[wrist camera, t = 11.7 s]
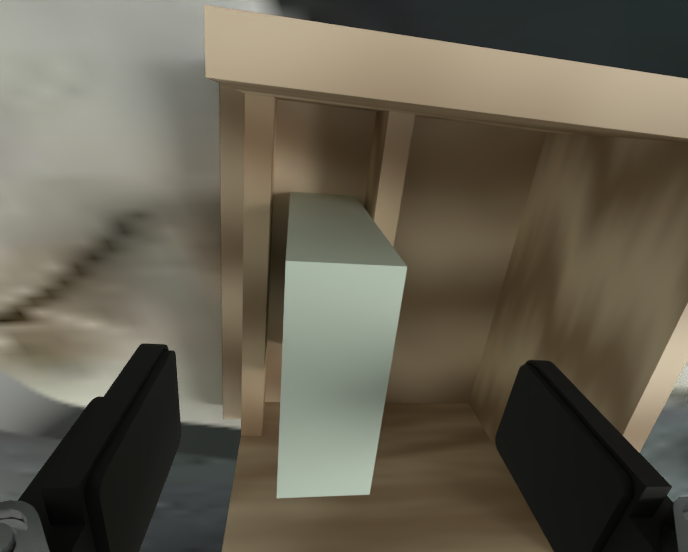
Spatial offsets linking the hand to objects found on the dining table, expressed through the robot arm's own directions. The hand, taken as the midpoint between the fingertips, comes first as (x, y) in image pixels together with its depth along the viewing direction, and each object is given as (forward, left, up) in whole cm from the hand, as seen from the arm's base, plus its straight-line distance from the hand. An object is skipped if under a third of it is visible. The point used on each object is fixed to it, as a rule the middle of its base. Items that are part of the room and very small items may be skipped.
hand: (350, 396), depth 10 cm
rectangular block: (0, 0, -9) cm, 9 cm away
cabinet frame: (0, +3, -10) cm, 11 cm away
